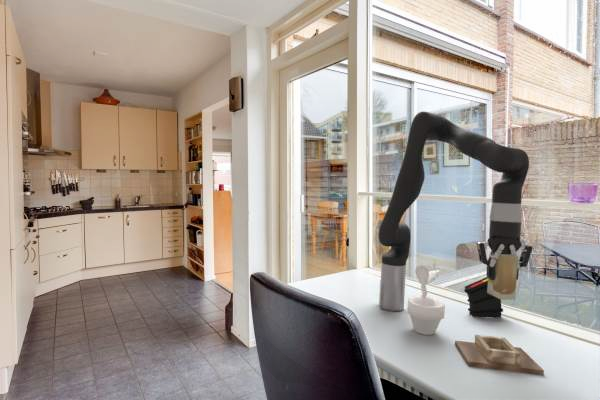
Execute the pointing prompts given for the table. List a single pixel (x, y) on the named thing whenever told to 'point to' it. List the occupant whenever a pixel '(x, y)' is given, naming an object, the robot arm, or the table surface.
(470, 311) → the magazine
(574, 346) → the table surface
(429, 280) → the potted plant
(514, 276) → the skincare box
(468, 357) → the socket board
